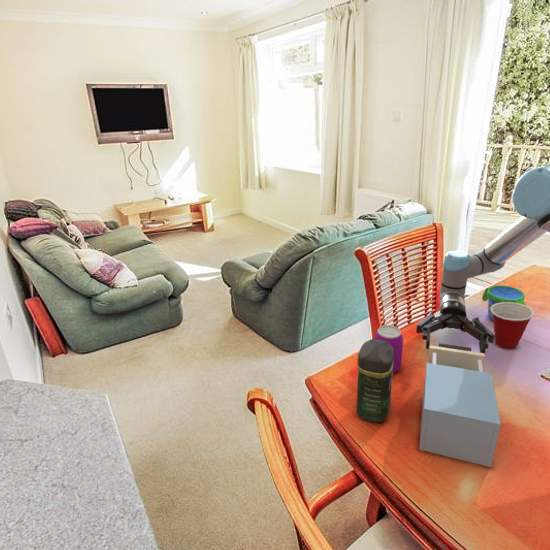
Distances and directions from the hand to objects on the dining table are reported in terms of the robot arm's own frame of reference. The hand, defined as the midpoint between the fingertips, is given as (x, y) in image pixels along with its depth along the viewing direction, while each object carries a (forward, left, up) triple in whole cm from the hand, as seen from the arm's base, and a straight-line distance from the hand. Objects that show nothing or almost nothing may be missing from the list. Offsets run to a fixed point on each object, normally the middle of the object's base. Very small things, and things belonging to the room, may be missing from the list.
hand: (454, 349), depth 101 cm
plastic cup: (-12, -21, -8) cm, 25 cm away
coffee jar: (+14, +23, -8) cm, 28 cm away
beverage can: (+16, +5, -8) cm, 19 cm away
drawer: (-1, +9, -7) cm, 11 cm away
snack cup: (-10, -36, -8) cm, 38 cm away
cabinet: (-4, +21, -8) cm, 23 cm away
